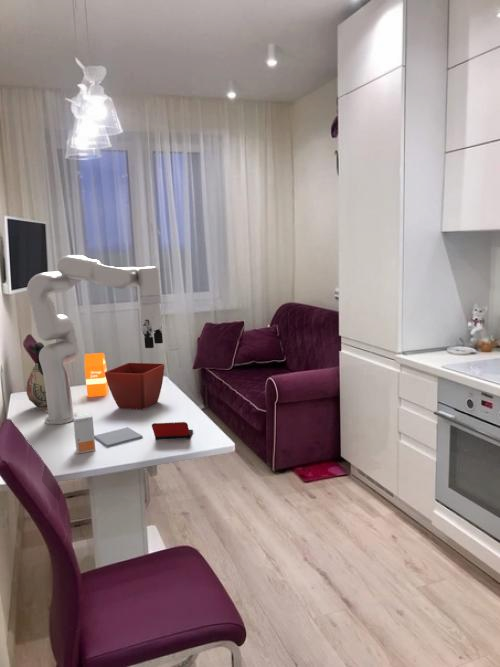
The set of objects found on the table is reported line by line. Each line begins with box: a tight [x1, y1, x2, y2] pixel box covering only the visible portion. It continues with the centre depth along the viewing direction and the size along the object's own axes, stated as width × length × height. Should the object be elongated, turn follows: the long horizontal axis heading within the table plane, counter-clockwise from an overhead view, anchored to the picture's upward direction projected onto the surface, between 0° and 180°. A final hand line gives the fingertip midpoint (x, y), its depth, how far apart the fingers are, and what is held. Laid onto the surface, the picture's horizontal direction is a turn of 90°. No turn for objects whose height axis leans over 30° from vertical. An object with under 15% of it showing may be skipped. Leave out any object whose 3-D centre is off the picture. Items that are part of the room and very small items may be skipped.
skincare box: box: [72, 413, 96, 454], centre depth 175 cm, size 6×4×12 cm
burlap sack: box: [26, 341, 48, 410], centre depth 230 cm, size 17×15×30 cm
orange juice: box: [84, 352, 110, 398], centre depth 249 cm, size 8×9×20 cm
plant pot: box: [105, 362, 165, 411], centre depth 226 cm, size 19×19×17 cm
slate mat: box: [94, 426, 143, 448], centre depth 187 cm, size 13×13×1 cm
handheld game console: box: [151, 421, 194, 441], centre depth 184 cm, size 12×11×7 cm
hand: (154, 345), depth 196 cm, fingers open, 9 cm apart
